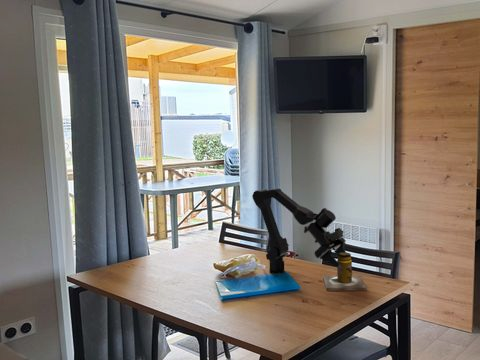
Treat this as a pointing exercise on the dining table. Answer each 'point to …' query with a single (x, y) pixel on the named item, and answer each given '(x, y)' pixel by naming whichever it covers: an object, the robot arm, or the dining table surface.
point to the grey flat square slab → (344, 287)
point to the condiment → (344, 269)
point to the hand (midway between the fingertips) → (343, 263)
